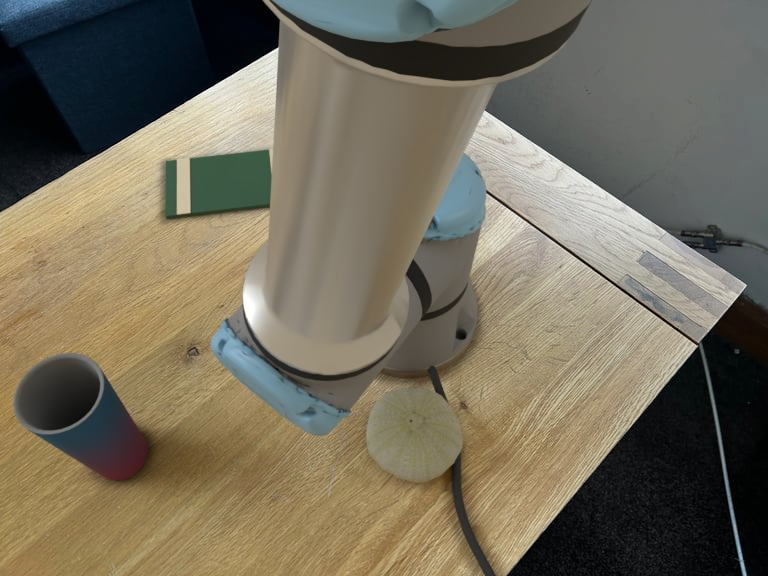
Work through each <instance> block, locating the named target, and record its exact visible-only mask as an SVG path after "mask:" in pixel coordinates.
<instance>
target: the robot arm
mask: <svg viewBox="0 0 768 576" xmlns="http://www.w3.org/2000/svg"><path fill="white" fill-rule="evenodd" d="M592 1H593V0H262V2H264V4H265V5H266V6H267V8H268V9H270V11H272V13H273V14H274V15H275V16H276V17H277V18H278V19H279V32H278V33H279V34H278V35H279V36H278V53H277V69H276V70H277V71H276V73H277V74H276V86H275V87H276V90H275V107H274V125H273V126H274V127H273V144H272V145H273V146H272V148H273V161H272V180H271V198H270V207H269V218H268V219H269V220H268V237H267V238H268V239H267V240H266V241H265V242H264V243H263V244H262V245H261V246H260V248H258V250H257V251H256V253H255V254H254V255H253V257H252V259H251V261H250V263H249V265H248V267H247V270H246V273H245V275H244V279H243V285H242V292H241V293H242V294H241V295H242V296H241V297H242V304H241V305H240V307H239V308H237V310H236V311H235V312H233V314H232V315H231V316H230V317H229V318H227V317H226V318H225V319H224V320H223V321H222V322H221V323H220V327H219V329H218V330H217V331H216V332H215V334H214V335H213V336H212V338H211V341H210V349H211V352H212V353H213V355H214V357H215V358H216V359H217V360H218V362H219V363H220V364H221V365H222V366H223V367H224V368H225V369H226V370H227V371H228V372H230V374H232V375H233V376H234V377H235V378H236V380H238V381H239V382H240V383H241V384H243V386H245V387H246V389H248V390H249V391H250V392H252V393H253V394H254V395H255V396H257V397H258V398H259V399H260V400H261V401H262V402H264V403H265V404H266V405H268V407H270V408H271V409H273V410H274V411H275V412H276V413H278V414H279V415H280V416H282V417H283V418H284V419H286V420H287V421H289V422H291V424H293V425H294V426H295V427H297V428H299V429H301V430H303V431H304V432H306V433H308V434H309V435H312V436H316V437H323V436H327V435H329V434H330V433H332V432H333V431H334V430H335V429H336V428H337V426H338V425H339V424H340V423H341V422H342V420H344V419H347V418H348V417H349V416H350V415H351V413H352V410H351V409H352V408H353V407H354V405H356V403H357V402H358V400H359V399H360V398H361V397H362V396H363V394H364V393H365V392H366V391H367V389H368V388H369V386H370V385H371V384H372V383H373V381H374V380H375V379H376V377H377V376H378V375H379V374H384V375H387V376H391V377H397V378H419V377H426V376H429V378H430V382H431V384H432V387H433V389H434V392H436V393H438V394H439V395H442V397H443V398H444V399H445V400H446V401H447V402H448V404H449V405H450V403H449V400H448V397H447V395H446V391H445V390H444V387H443V384H442V382H441V379H440V376H439V372H441V371H443V370H444V369H446V368H448V367H450V366H452V365H453V364H454V363H455V362H456V361H458V360H459V359H460V358H461V357H462V355H463V354H464V353H466V350H467V349H468V348H469V347H470V345H471V342H472V341H473V339H474V335H475V331H476V329H477V324H478V320H479V303H478V298H477V294H476V291H475V289H474V288H475V287H474V286H473V283H472V280H471V277H470V276H471V272H472V268H473V263H474V261H475V260H474V259H475V256H476V251H477V247H478V243H479V237H480V234H481V230H482V226H483V224H484V221H485V219H486V213H487V209H486V207H487V206H486V202H487V185H486V181H485V180H484V178H483V176H482V171H481V169H480V168H479V167H478V165H477V163H476V162H475V161H474V160H473V159H472V158H471V157H469V155H468V154H466V153H465V152H466V150H467V148H468V145H469V144H470V141H471V139H472V137H473V135H474V133H475V131H476V129H477V127H478V125H479V123H480V121H481V118H482V117H483V115H484V112H485V110H486V108H487V106H488V104H489V102H490V100H491V98H492V96H493V94H494V93H495V90H496V88H497V86H498V84H499V83H502V82H506V81H510V80H513V79H516V78H519V77H521V76H523V75H525V74H527V73H530V72H533V71H534V70H537V68H539V67H541V66H543V65H545V63H547V62H549V61H550V60H551V59H553V58H554V56H555V55H557V54H558V53H559V52H560V51H561V50H562V49H563V48H564V47H565V45H566V44H567V43H568V41H569V40H570V39H571V37H572V36H573V34H574V33H575V32H576V31H577V29H578V27H579V25H580V23H581V21H582V19H583V17H584V15H585V13H586V12H587V10H588V8H589V6H590V5H591V3H592ZM451 488H452V498H453V504H454V508H455V513H456V515H457V519H458V522H459V524H460V527H461V530H462V533H463V536H464V537H465V540H466V542H467V544H468V546H469V548H470V550H471V552H472V554H473V556H474V559H475V560H476V561H477V563H478V565H479V567H480V569H481V571H482V573H483V575H484V576H497V575H496V573H495V570H494V569H493V567H492V566H491V563H490V561H489V560H488V558H487V557H486V554H485V552H484V550H483V548H482V547H481V545H480V543H479V540H478V539H477V537H476V534H475V533H474V529H473V528H472V525H471V522H470V519H469V517H468V514H467V510H466V507H465V501H464V496H463V490H462V451H461V452H460V453H459V455H458V456H457V458H456V460H455V463H454V464H452V466H451Z"/></svg>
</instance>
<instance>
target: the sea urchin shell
mask: <svg viewBox="0 0 768 576" xmlns="http://www.w3.org/2000/svg"><path fill="white" fill-rule="evenodd" d="M448 403H449V401H448V402H447V401H446V400H445V399H444V398H443V397H442V395H439V394H438V393H436V392H435V390H431V389H427V388H423V387H400V388H397V389H394V390H390V391H386V392H385V393H384V394H383V395H381V397H379V398H378V399H377V401H376V402H375V403H374V405H373V407H372V409H371V410H370V412H369V417H368V421H367V425H366V429H365V440H366V448H367V451H368V453H369V455H370V457H371V459H372V460H374V462H375V463H377V464H378V466H379V467H380V468H381V469H382V470H384V472H387V473H389V474H391V475H393V476H394V477H395V478H396V479H399V480H403V481H407V482H410V483H414V484H420V483H421V484H425V483H428V482H430V481H431V480H435V479H437V478H439V477H441V476H442V475H443V474H445V472H446V471H447V470H448V469H450V467H452V464H454V463H455V460H456V458H457V456H458V455H459V453H460V452H461V453H462V450H463V444H464V443H463V442H464V437H463V432H462V427H461V423H460V420H459V419H458V417H457V415H456V412H455V410H454V407H453V406H452V405H450V403H449V404H448Z"/></svg>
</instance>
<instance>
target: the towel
mask: <svg viewBox="0 0 768 576" xmlns="http://www.w3.org/2000/svg"><path fill="white" fill-rule="evenodd" d="M272 161H273V147H272V148H268V149H261V150H254V151H244V152H243V151H242V152H235V153H226V154H218V155H216V154H215V155H208V156H200V157H199V156H198V157H185V158H182V157H181V158H177V159H172V160H166V161H165V196H164V198H165V199H164V200H165V202H164V205H165V206H164V207H165V208H164V209H165V211H164V212H165V213H164V215H165V216H164V217H165V219H166V220H172V219H180V218H187V217H196V216H204V215H205V216H206V215H211V214H212V215H213V214H221V213H230V212H238V211H239V212H240V211H246V210H254V209H255V210H256V209H263V208H270V198H271V180H272Z"/></svg>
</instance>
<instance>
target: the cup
mask: <svg viewBox="0 0 768 576" xmlns="http://www.w3.org/2000/svg"><path fill="white" fill-rule="evenodd" d="M14 391H15V392H14V394H13V400H12V401H13V402H12V405H13V406H12V407H13V413H14V415H15V418H16V420H17V421H18V422H19V424H20V425H21V426H22V427H23V428H25V429H26V430H27V431H29V432H31V433H32V434H34V435H35V436H37V437H38V438H39V439H41V440H43V441H45V442H46V443H48V444H50V445H51V446H53V447H54V448H56V449H58V450H59V451H61V452H62V453H64V454H66V455H67V456H69V457H70V458H72V459H74V460H75V461H77V462H79V463H80V464H81V465H83V466H85V467H86V468H88V469H90V470H92V471H93V472H94V473H96V474H98V475H99V476H101V477H102V478H104V479H107V480H109V481H123V480H127V479H129V478H131V477H133V476H134V475H136V473H138V472H139V471H140V470H141V469H142V468H143V466H144V464H146V461H147V458H148V454H149V445H148V443H147V440H146V437H145V436H144V435H143V433H142V432H141V430H140V428H139V427H138V426H137V423H136V422H135V421H134V419H133V417H132V416H131V413H130V412H129V411H128V409H127V407H126V406H125V405H124V403H123V401H122V400H121V398H120V397H119V395H118V394H117V392H116V390H115V389H114V387H113V386H112V383H111V382H110V381H109V379H108V377H107V376H106V374H105V373H104V371H103V370H102V368H101V367H100V366H99V364H98V363H97V361H95V360H94V359H92V358H91V357H89V356H87V355H84V354H81V353H76V352H63V353H58V354H55V355H51V356H48V357H46V358H44V359H42V360H40V361H38V363H36V364H35V365H33V366H32V367H30V369H29V370H27V372H25V374H24V375H23V376H22V378H21V379H20V380H19V382H18V384H17V386H16V388H15V390H14Z"/></svg>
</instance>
